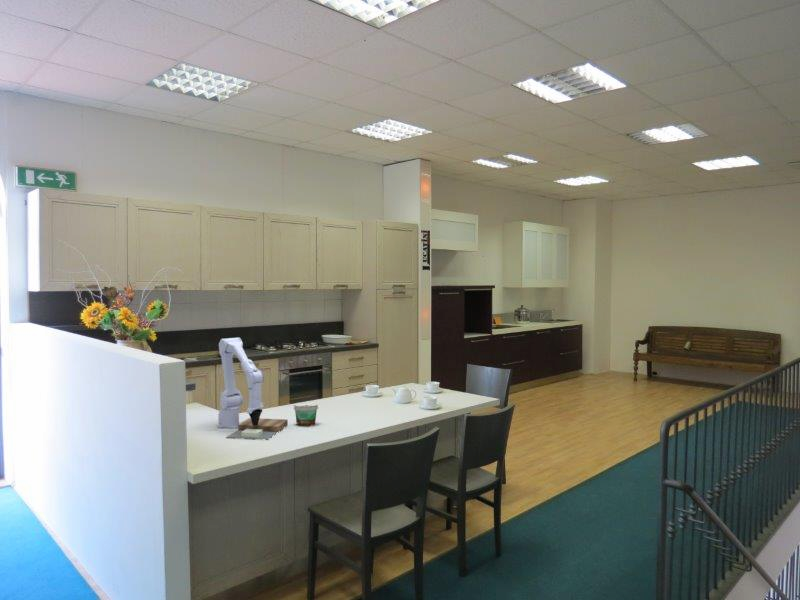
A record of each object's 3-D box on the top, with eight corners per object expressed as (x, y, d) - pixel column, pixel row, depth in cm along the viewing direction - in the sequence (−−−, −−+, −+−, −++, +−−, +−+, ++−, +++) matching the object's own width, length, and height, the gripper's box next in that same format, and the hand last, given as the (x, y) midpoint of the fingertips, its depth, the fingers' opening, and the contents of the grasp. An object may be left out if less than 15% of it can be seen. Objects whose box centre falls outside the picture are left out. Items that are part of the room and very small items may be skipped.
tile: (246, 428, 264) (246, 433, 264) (241, 432, 258) (241, 436, 258) (262, 429, 263) (262, 433, 263) (257, 432, 257) (257, 437, 257)
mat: (226, 438, 257) (226, 437, 257) (237, 431, 269) (237, 430, 269) (267, 440, 255) (267, 439, 255) (277, 433, 266) (277, 432, 266)
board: (237, 431, 270) (237, 424, 270) (249, 423, 284) (249, 417, 283) (277, 432, 267) (277, 426, 267) (287, 425, 281) (287, 419, 281)
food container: (293, 427, 277) (293, 407, 277) (293, 424, 283) (293, 404, 283) (318, 426, 280) (318, 406, 279) (318, 423, 286) (318, 403, 285)
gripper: (257, 400, 257) (257, 429, 257) (268, 394, 271) (268, 421, 272) (242, 399, 258) (242, 428, 258) (255, 393, 272) (255, 421, 273)
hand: (255, 425), depth 265 cm, fingers closed
